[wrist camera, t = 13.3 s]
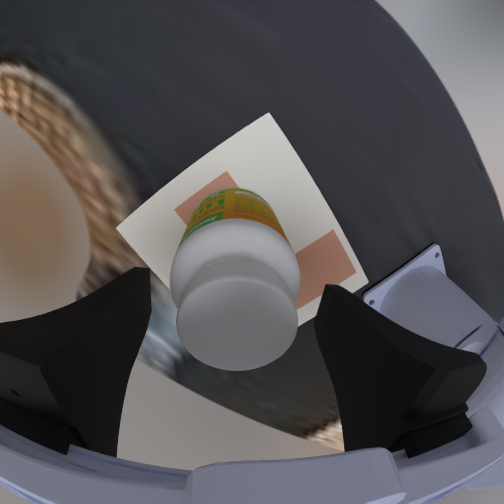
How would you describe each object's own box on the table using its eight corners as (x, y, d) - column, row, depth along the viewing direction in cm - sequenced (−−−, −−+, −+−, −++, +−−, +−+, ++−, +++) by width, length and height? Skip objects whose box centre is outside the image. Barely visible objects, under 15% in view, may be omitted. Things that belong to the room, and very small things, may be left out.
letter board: (365, 278, 21) (369, 282, 20) (239, 353, 23) (239, 358, 22) (267, 113, 15) (269, 112, 15) (118, 225, 18) (115, 228, 17)
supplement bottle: (219, 169, 16) (203, 218, 7) (293, 215, 18) (352, 304, 9) (175, 241, 18) (132, 347, 9) (246, 280, 19) (259, 398, 10)
